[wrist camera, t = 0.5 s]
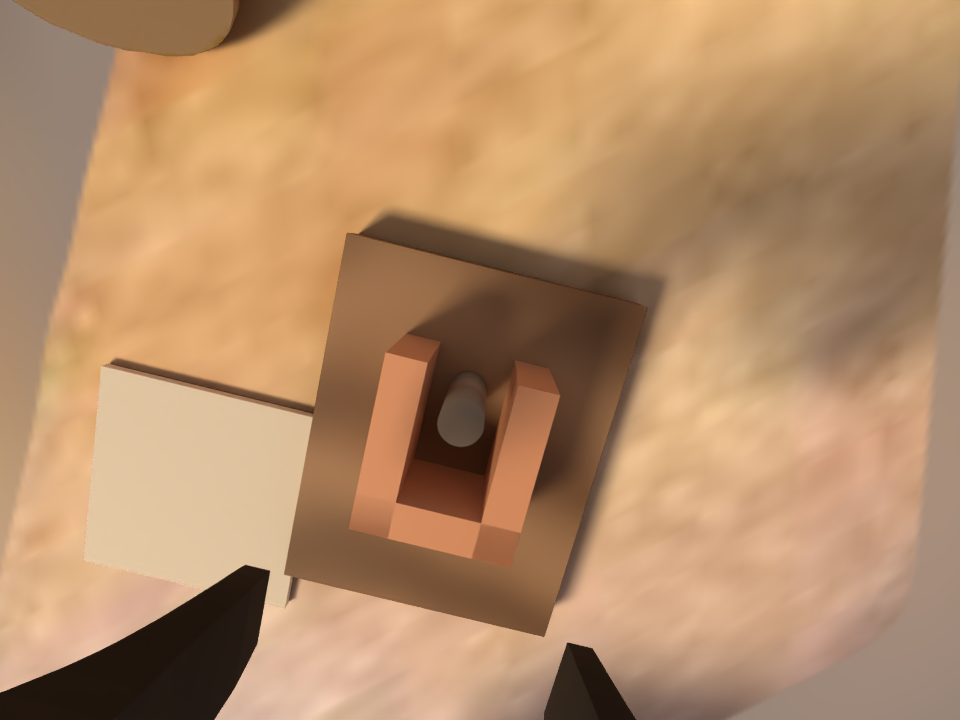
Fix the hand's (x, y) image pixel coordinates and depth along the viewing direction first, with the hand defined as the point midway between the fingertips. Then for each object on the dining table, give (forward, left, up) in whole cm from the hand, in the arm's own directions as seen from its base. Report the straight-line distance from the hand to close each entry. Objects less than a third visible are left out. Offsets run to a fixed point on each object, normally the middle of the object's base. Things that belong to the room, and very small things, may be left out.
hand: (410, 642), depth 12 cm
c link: (+3, 0, -8) cm, 9 cm away
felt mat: (-3, +10, -10) cm, 15 cm away
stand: (+1, 0, -10) cm, 10 cm away
